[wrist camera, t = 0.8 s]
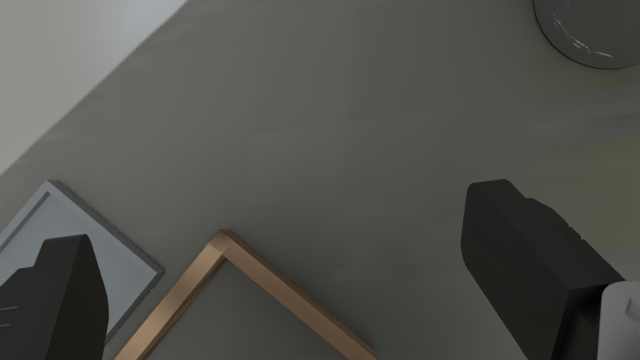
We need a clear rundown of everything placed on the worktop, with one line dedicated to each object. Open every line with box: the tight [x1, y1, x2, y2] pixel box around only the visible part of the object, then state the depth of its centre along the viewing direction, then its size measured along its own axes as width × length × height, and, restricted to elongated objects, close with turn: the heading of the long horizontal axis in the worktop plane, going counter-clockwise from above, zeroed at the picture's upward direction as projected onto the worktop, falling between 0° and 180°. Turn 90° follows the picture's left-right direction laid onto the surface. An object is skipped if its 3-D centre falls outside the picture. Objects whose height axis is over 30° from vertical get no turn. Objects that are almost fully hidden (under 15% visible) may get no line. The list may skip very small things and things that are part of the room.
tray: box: [0, 180, 165, 346], centre depth 33 cm, size 12×9×2 cm
